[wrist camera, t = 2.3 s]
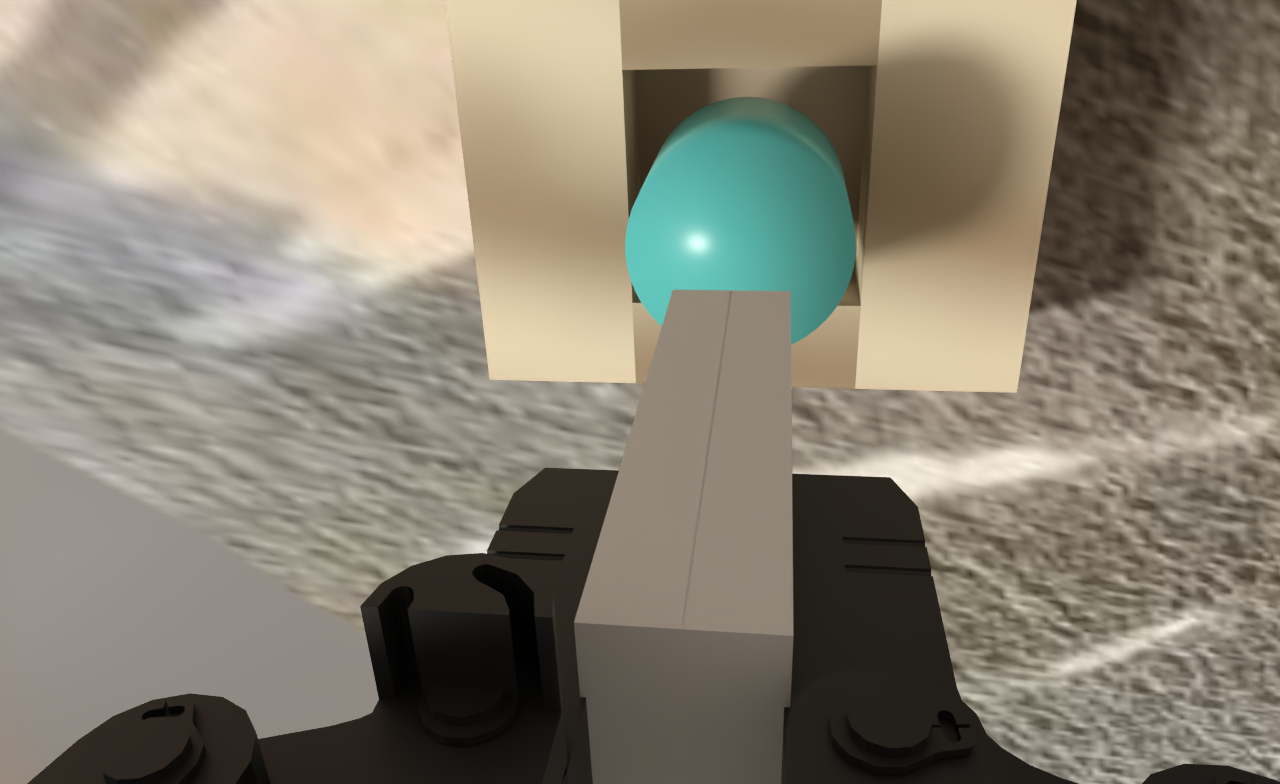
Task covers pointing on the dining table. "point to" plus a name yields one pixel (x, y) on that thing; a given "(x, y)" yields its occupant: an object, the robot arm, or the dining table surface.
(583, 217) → the wooden button tray
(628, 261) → the teal button
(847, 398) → the dining table surface
